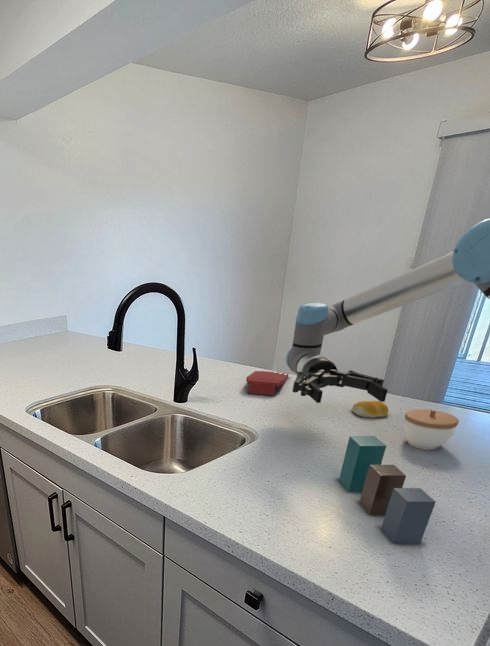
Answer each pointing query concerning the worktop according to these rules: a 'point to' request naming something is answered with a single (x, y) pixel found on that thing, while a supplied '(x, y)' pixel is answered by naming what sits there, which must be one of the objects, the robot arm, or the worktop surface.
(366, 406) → the bread roll
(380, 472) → the walnut block
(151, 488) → the worktop surface
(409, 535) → the slate block
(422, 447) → the trinket box
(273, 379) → the carton
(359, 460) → the teal block
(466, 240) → the robot arm
